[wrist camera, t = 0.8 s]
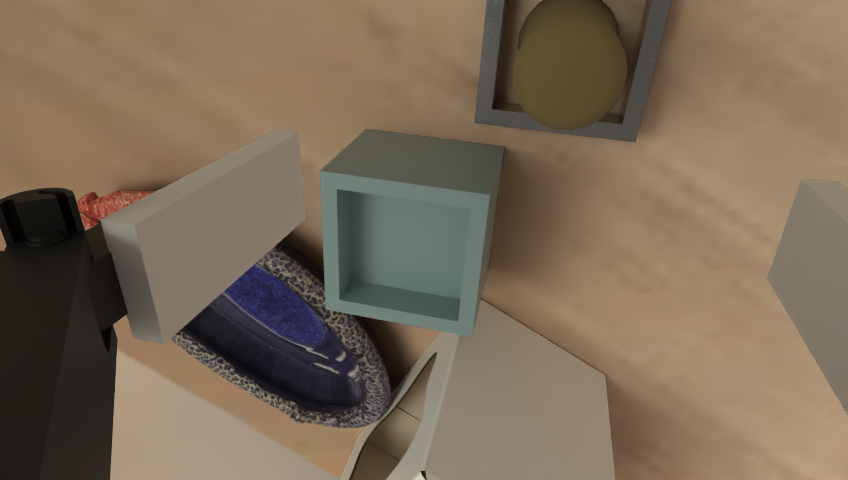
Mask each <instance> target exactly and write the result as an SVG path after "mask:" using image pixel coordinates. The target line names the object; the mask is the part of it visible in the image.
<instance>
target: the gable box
mask: <svg viewBox="0 0 848 480" xmlns="http://www.w3.org/2000/svg"><path fill="white" fill-rule="evenodd" d="M340 480H615V472H614V462H613V451H612V441H611V430H610V420H609V409H608V399H607V388H606V378H605V375H604V374H602V373H601V372H599V371H598V370H596V369H594V368H593V367H591V366H589V365H588V364H586V363H585V362H583V361H581V360H580V359H578V358H576V357H575V356H573V355H571V354H570V353H568V352H567V351H565V350H563V349H562V348H560V347H558V346H557V345H555V344H553V343H552V342H550V341H549V340H547V339H545V338H544V337H542V336H540V335H539V334H537V333H535V332H534V331H532V330H531V329H529V328H527V327H526V326H524V325H522V324H521V323H519V322H518V321H516V320H514V319H513V318H511V317H509V316H508V315H506V314H504V313H503V312H501V311H500V310H498V309H496V308H495V307H493V306H491V305H490V304H488V303H486V302H485V301H483V300H482V299H481V302H480V306H479V310H478V315H477V319H476V323H475V327H474V331H473V336H472V337H470V336H464V335H459V334H454V333H448V332H443V331H440V332H439V334H438V335H437V336H436V337H435V339H434V340H433V341H432V343H431V344H430V345H429V346H428V348H427V349H426V350H425V352H424V353H423V354H422V355H421V357H420V358H419V359H418V361H417V362H416V363H415V364H414V366H413V367H412V368H411V369H410V371H409V372H408V373H407V375H406V376H405V377H404V378H403V380H402V381H401V382H400V384H399V385H398V386H397V387H396V389H395V390H394V391H393V393H392V394H391V395H390V402H389V405H388V408H387V410H386V413H385V414H384V415H383V416H382V417H381V418H380V419H379V420H378V421H376V422H374V423H372V424H370V425H367V426H366V427H365V428H364V430H363V431H362V432H361V433H360V435H359V436H358V439H357V441H356V443H355V446H354V448H353V450H352V453H351V455H350V458H349V460H348V462H347V465H346V467H345V469H344V472H343V474H342V476H341V479H340Z"/></svg>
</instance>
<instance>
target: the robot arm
mask: <svg viewBox="0 0 848 480" xmlns="http://www.w3.org/2000/svg"><path fill="white" fill-rule="evenodd" d="M305 219H306V213H305V203H304V192H303V181H302V170H301V160H300V149H299V138H298V133H297V132H286V131H275V130H274V131H272V132H270V133H268V134H267V135H265V136H263V137H261V138H259V139H257V140H255V141H253V142H251V143H249V144H247V145H245V146H243V147H241V148H239V149H237V150H235V151H233V152H232V153H230V154H228V155H226V156H224V157H222V158H220V159H218V160H216V161H214V162H212V163H210V164H208V165H206V166H204V167H202V168H200V169H198V170H197V171H195V172H193V173H191V174H189V175H187V176H185V177H183V178H181V179H179V180H177V181H175V182H173V183H171V184H169V185H167V186H165V187H163V188H162V189H160V190H158V191H156V192H154V193H152V194H150V195H148V196H146V197H144V198H142V199H140V200H138V201H136V202H134V203H132V204H130V205H128V206H127V207H125V208H123V209H121V210H119V211H117V212H115V213H113V214H111V215H109V216H107V217H105V218H103V219H101V220H100V221H101V223H99V224H98V225H96V226H94V227H92V228H90V229H88V230H86V231H85V229H84V226H83V223H82V219H81V216H80V213H79V209H78V206H77V202H76V199H75V196H74V193H73V191H71V190H68V189H64V188H43V189H35V190H29V191H24V192H20V193H17V194H13V195H10V196H7V197H5V198H3V199H1V200H0V229H1V231H2V234H3V237H4V239H5V242H6V245H7V246H6V248H5V251H0V480H110V468H111V450H112V430H113V412H114V393H115V375H116V356H117V337H116V333H115V330H114V327H113V324H114V323H116V322H117V321H118V320H120V319H121V318H122V317H124V316H125V315H126V314H127V317H128V321H129V324H130V328H131V332H132V335H133V338H136V339H141V340H146V341H151V342H156V343H161V344H165V343H166V342H167V341H168V340H169V339H171V338H172V337H173V336H174V335H175V334H176V333H177V332H179V331H180V330H181V329H182V328H183V327H184V326H185V325H186V324H188V323H189V322H190V321H191V320H192V319H193V318H194V317H195V316H197V315H198V314H199V313H200V312H201V311H202V310H203V309H204V308H206V307H207V306H208V305H209V304H210V303H211V302H212V301H213V300H215V299H216V298H217V297H218V296H219V295H220V294H221V293H223V292H224V291H225V290H226V289H227V288H228V287H229V286H230V285H232V284H233V283H234V282H235V281H236V280H237V279H238V278H239V277H241V276H242V275H243V274H244V273H245V272H246V271H247V270H248V269H250V268H251V267H252V266H253V265H254V264H255V263H256V262H257V261H259V260H260V259H261V258H262V257H263V256H264V255H265V254H266V253H268V252H269V251H270V250H271V249H272V248H273V247H274V246H276V245H277V244H278V243H279V242H280V241H281V240H282V239H283V238H285V237H286V236H287V235H288V234H289V233H290V232H291V231H292V230H294V229H295V228H296V227H297V226H298V225H299V224H300V223H301V222H303V221H304V220H305ZM767 279H768V280H769V282H770V284H771V285H772V287H773V289H774V291H775V292H776V294H777V296H778V297H779V299H780V301H781V302H782V304H783V306H784V308H785V309H786V311H787V313H788V314H789V316H790V318H791V319H792V321H793V323H794V325H795V326H796V328H797V330H798V331H799V333H800V335H801V336H802V338H803V340H804V342H805V343H806V345H807V347H808V348H809V350H810V352H811V353H812V355H813V357H814V359H815V360H816V362H817V364H818V365H819V367H820V369H821V370H822V372H823V374H824V376H825V377H826V379H827V381H828V382H829V384H830V386H831V387H832V389H833V391H834V393H835V394H836V396H837V398H838V399H839V401H840V403H841V404H842V406H843V408H844V410H845V411H846V413H847V415H848V189H847V188H845V187H844V186H843V185H842V184H841V183H839V182H834V181H823V180H812V179H802V180H801V183H800V186H799V189H798V191H797V194H796V197H795V200H794V203H793V206H792V209H791V212H790V215H789V217H788V220H787V223H786V226H785V229H784V232H783V235H782V238H781V241H780V243H779V246H778V249H777V252H776V255H775V258H774V261H773V264H772V266H771V269H770V272H769V275H768V278H767Z"/></svg>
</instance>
